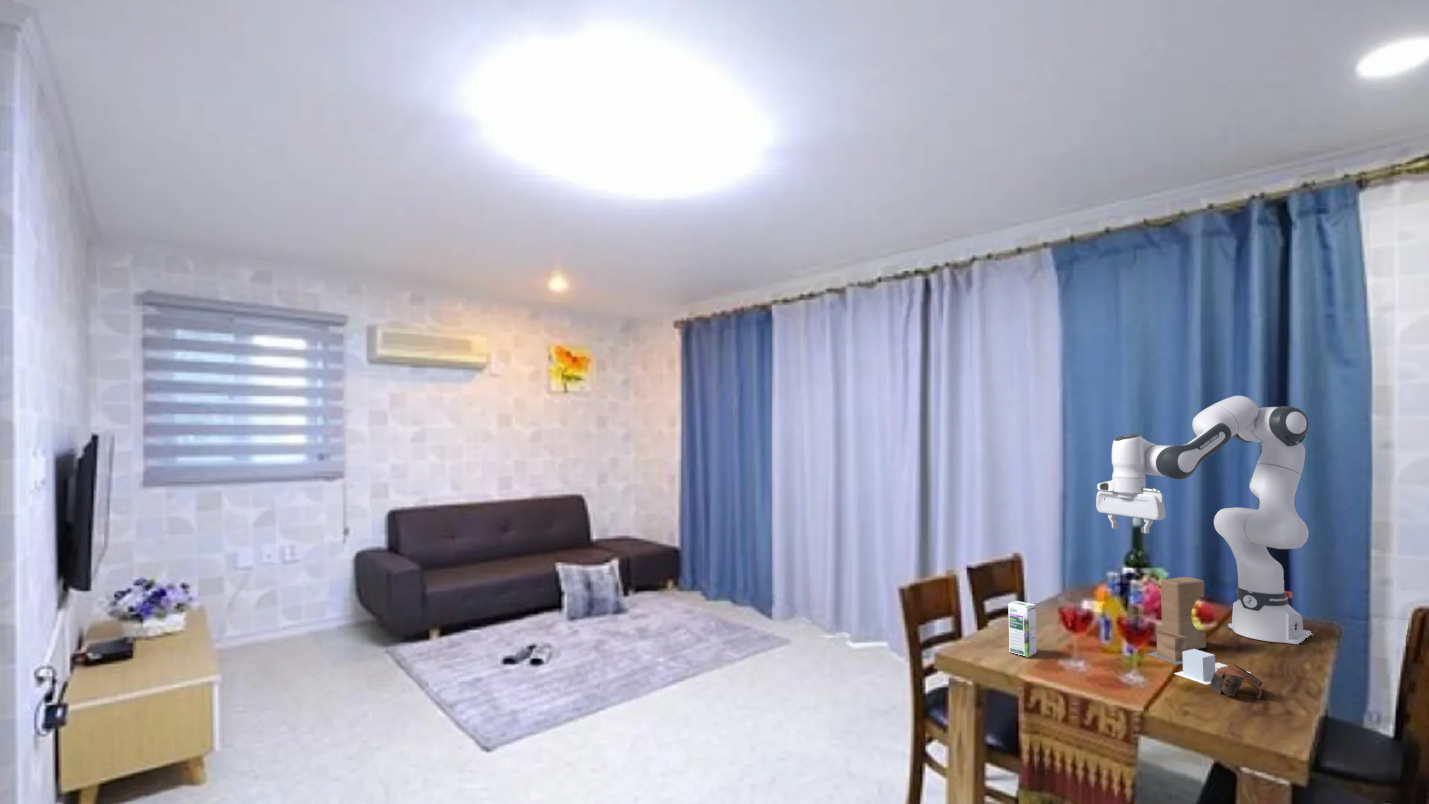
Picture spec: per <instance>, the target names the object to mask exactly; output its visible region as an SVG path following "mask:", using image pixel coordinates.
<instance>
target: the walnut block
mask: <svg viewBox="0 0 1429 804" xmlns="http://www.w3.org/2000/svg"><path fill="white" fill-rule="evenodd" d="M1183 651H1187V648H1186V637H1185V636H1181V635H1178V634H1174V633H1171V632H1164V633H1162V632H1160V633H1156V652H1157V655H1158V656H1161V657H1164V658H1167V659H1171V660H1174V661H1178V660H1182V659H1183V655H1182V652H1183Z"/></svg>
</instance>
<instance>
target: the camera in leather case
mask: <svg viewBox="0 0 1429 804" xmlns="http://www.w3.org/2000/svg"><path fill="white" fill-rule="evenodd" d="M1227 665H1228V666H1224V667H1221V668H1219V669H1218V670H1217V671H1216V672H1215V673H1214V675H1213V678H1212V680H1211V684H1209V688H1210V690H1211V691H1212V692H1213V693H1215V694H1218V695H1222V692H1223V693H1224V694H1225V696H1228V697H1233V698H1234V697H1235V696H1236V694H1237V692H1238V690H1239V689H1240V687H1242V685H1243V683H1242V682H1244V683H1247V684H1248V685H1250V686H1252V688H1253V689H1255V690H1256V691H1257V696H1256V699H1257V700H1260V698H1261V696H1262V687H1261V686H1262V685H1263V684H1264V683H1263V682H1262V681H1261V680H1260V679H1259V678H1258V677H1256V676H1254V675H1253V674H1251V673H1248V672H1249V671H1248V672H1247V670H1245V669H1243V668H1242V667H1240V666H1238V665H1236V664H1234V663H1231V662H1228V664H1227Z"/></svg>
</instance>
